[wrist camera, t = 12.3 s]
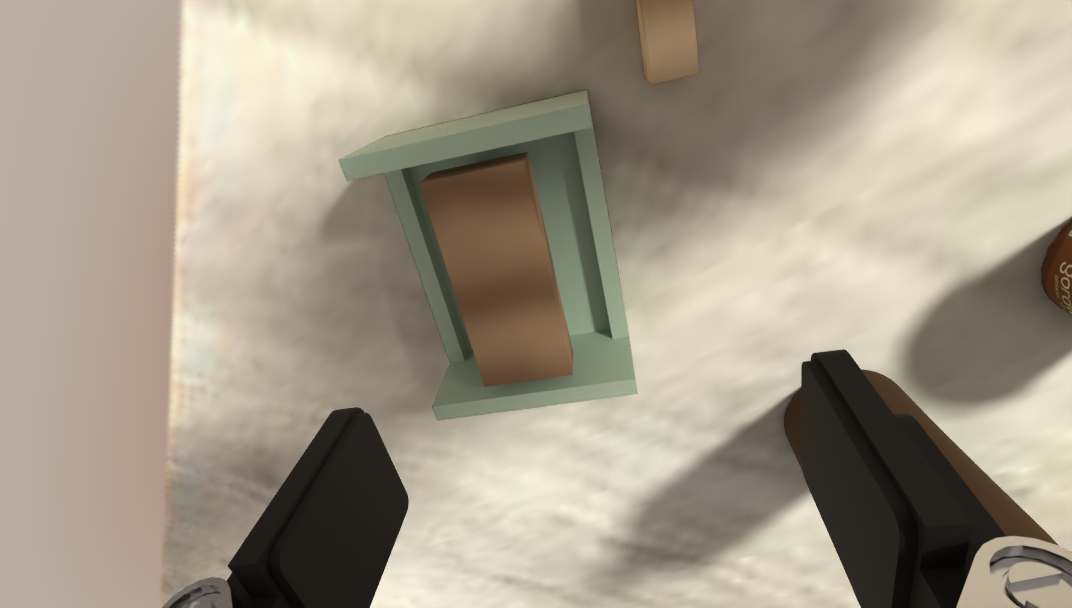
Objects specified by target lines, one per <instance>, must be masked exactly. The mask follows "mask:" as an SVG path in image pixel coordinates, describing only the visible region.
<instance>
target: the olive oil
mask: <svg viewBox="0 0 1072 608" xmlns="http://www.w3.org/2000/svg"><path fill="white" fill-rule="evenodd" d="M862 372H863V373H864V375H865V376H866V377H867V379H868V380H869V381H870V383H871V384H872V386H873V387H874V388H875V390H876V391H877V392H878V394H879V395H880V396H881V398H882V399H883V401H884V402H885V403H886V405H887V406H888V407H889V409H890V410H891V412H892V413H893V414H903V413H907V414H909V415H911V416H913V417H914V418H915V419H916V420H917V421H918V423H919V424H920V425H921V426H922V428H923V429H924V430H925V432H926V433H927V434H928V436H929V437H930V438H931V439H932V441H933V442H934V443H935V445H936V446H937V447H938V448H939V450H940V451H941V452H942V454H943V455H944V456H945V457H946V459H947V460H948V461H949V463H950V464H951V465H952V466H953V468H954V469H955V470H956V472H957V473H958V474H959V475H960V477H961V478H962V479H963V481H964V482H965V483H966V484H967V486H968V487H969V488H970V490H971V491H972V492H973V493H974V495H975V496H976V497H977V499H978V500H979V501H980V502H981V504H982V505H983V506H984V508H985V509H986V510H987V511H988V513H989V514H990V515H991V517H992V518H993V519H994V520H995V522H996V523H997V524H998V526H999V527H1000V528H1001V529H1002V531H1003V532H1004V533H1005V535H1006V536H1007V537H1008V536H1019V537H1028V538H1035V539H1038V540H1042V541H1045V542H1049V543H1052V544H1056V545H1058V544H1057V543H1056V542H1055V541H1054V540H1053V539H1052V538H1051V537H1050V536H1049V535H1048V534H1047V533H1046V532H1045V531H1044V530H1043V529H1042V528H1041V527H1040V526H1039V525H1038V524H1037V523H1036V522H1035V521H1034V520H1033V519H1032V518H1031V517H1030V516H1029V515H1028V514H1027V513H1026V512H1025V511H1024V510H1023V509H1022V508H1021V507H1020V506H1019V505H1017V504H1016V503H1015V502H1014V501H1013V500H1012V499H1011V498H1010V497H1009V496H1008V495H1007V494H1006V493H1005V492H1004V491H1003V490H1002V489H1001V488H1000V487H999V486H998V485H997V484H996V483H995V482H994V481H993V480H992V479H991V478H990V477H989V476H988V475H987V474H985V473H984V472H983V471H982V470H981V469H980V468H979V467H978V466H977V465H976V464H975V463H974V462H973V461H972V460H971V459H970V458H969V457H968V456H967V455H966V454H965V453H964V452H963V451H962V450H961V449H960V448H959V447H958V446H957V445H956V444H955V443H954V442H953V441H952V440H951V439H950V438H949V437H948V436H947V435H946V434H945V433H944V432H943V431H942V430H941V429H940V428H939V427H938V426H937V425H936V424H935V423H934V422H933V421H932V420H931V419H930V418H929V417H928V416H927V415H926V414H925V413H924V412H923V411H922V410H921V409H920V408H919V407H918V406H917V405H916V404H915V402H914V401H913V400H912V399H911V398H910V397H909V396H908V395H907V394H906V393H905V392H904V391H903V390H902V389H901V388H900V387H899V386H898V385H897V384H896V383H895V382H893V381H892V380H891V379H889V378H888V377H886V376H884V375H882V374H879V373H876V372H873V371H868V370H862ZM801 398H802V389H801V390H800V391H799V392H798V393H797V394H796V395H795V397H794V398H793V399H792V401H791V402H790V404H789V406H788V408H787V410H786V414H785V419H784V427H785V432H786V435H787V438H788V440H789V442H790V445H791V447H792V449H793V451H794V453H795V455H796V458H797V460H798V462H799V464H800V466H801V469H802V462H801ZM802 471H803V470H802ZM851 586H852V585H851ZM853 591H854V590H853ZM854 593H855V592H854ZM856 598H857V597H856ZM857 600H858V599H857ZM858 602H859V601H858Z"/></svg>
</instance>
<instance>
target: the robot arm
mask: <svg viewBox="0 0 1072 608" xmlns="http://www.w3.org/2000/svg"><path fill="white" fill-rule="evenodd" d="M801 462H802V470H803V474H804V477H805V480H806V483H807V485H808V487H809V490H810V492H811V494H812V496H813V499H814V501H815V503H816V506H817V508H818V510H819V512H820V515H821V517H822V519H823V522H824V524H825V526H826V528H827V531H828V533H829V535H830V538H831V540H832V542H833V544H834V547H835V549H836V551H837V553H838V556H839V558H840V560H841V563H842V565H843V567H844V569H845V572H846V574H847V576H848V579H849V581H850V583H851V585H852V588H853V590H854V592H855V595H856V597H857V599H858V601H859V604H860V606H861V608H1072V552H1070V551H1068V550H1066V549H1064V548H1062V547H1060V546H1058V545H1056V544H1052V543H1049V542H1045V541H1042V540H1038V539H1035V538H1028V537H1019V536H1008V537H1007V536H1006V535H1005V533H1004V532H1003V531H1002V529H1001V528H1000V527H999V526H998V524H997V523H996V522H995V520H994V519H993V518H992V517H991V515H990V514H989V513H988V511H987V510H986V509H985V508H984V506H983V505H982V504H981V502H980V501H979V500H978V499H977V497H976V496H975V495H974V493H973V492H972V491H971V490H970V488H969V487H968V486H967V484H966V483H965V482H964V481H963V479H962V478H961V477H960V475H959V474H958V473H957V472H956V470H955V469H954V468H953V466H952V465H951V464H950V463H949V461H948V460H947V459H946V457H945V456H944V455H943V454H942V452H941V451H940V450H939V448H938V447H937V446H936V445H935V443H934V442H933V441H932V439H931V438H930V437H929V436H928V434H927V433H926V432H925V430H924V429H923V428H922V426H921V425H920V424H919V423H918V421H917V420H916V419H915V418H914V417H913V416H911V415H909V414H907V413H903V414H893V413H892V412H891V410H890V409H889V407H888V406H887V405H886V403H885V402H884V401H883V399H882V398H881V396H880V395H879V394H878V392H877V391H876V390H875V388H874V387H873V386H872V384H871V383H870V381H869V380H868V379H867V377H866V376H865V375H864V373H863V372H862V370H861V369H860V368H859V366H858V365H857V364H856V362H855V361H854V360H853V358H852V357H851V355H850V354H849V353H848V352H847V351H846V350H835V351H827V352H819V353H813V354H812V356H811V361H806V362H803V363H802V398H801ZM407 510H408V495H407V492H406V490H405V488H404V486H403V484H402V482H401V480H400V477H399V475H398V473H397V471H396V469H395V467H394V465H393V462H392V460H391V458H390V456H389V454H388V452H387V450H386V447H385V445H384V443H383V441H382V439H381V437H380V435H379V432H378V430H377V428H376V426H375V424H374V422H373V420H372V418H371V416H370V415H369V414H368V413H364V411H363V410H362V409H361V408H348V409H340V410H335V411H333V412H332V413H331V414H330V415H329V417H328V418H327V420H326V421H325V423H324V424H323V426H322V427H321V429H320V430H319V432H318V433H317V434H316V436H315V437H314V439H313V440H312V442H311V443H310V445H309V446H308V448H307V449H306V451H305V452H304V454H303V455H302V457H301V458H300V460H299V461H298V463H297V464H296V466H295V467H294V468H293V470H292V471H291V473H290V474H289V476H288V477H287V479H286V480H285V482H284V483H283V485H282V486H281V488H280V489H279V491H278V492H277V494H276V495H275V497H274V498H273V500H272V501H271V502H270V504H269V505H268V507H267V508H266V510H265V511H264V513H263V514H262V516H261V517H260V519H259V520H258V522H257V523H256V525H255V526H254V528H253V529H252V531H251V532H250V533H249V535H248V536H247V538H246V539H245V541H244V542H243V544H242V545H241V547H240V548H239V550H238V551H237V553H236V554H235V556H234V557H233V559H232V560H231V562H230V563H229V565H228V567H229V568H230V570H231V571H232V574H231V575H230V577H229V578H228V580H227V581H225V580H224V579H222V578H215V577H211V578H207V579H203V580H200V581H198V582H196V583H193V584H191V585H189V586H187V587H186V588H184V589H183V590H182V591H180V592H179V593H177V594H176V595H175V596H173V597H172V598H171V599H170V600H169V601H168V602H167V603H166V604H165V605H164V606H163V607H162V608H370V605H371V603H372V600H373V597H374V595H375V592H376V590H377V587H378V585H379V582H380V579H381V577H382V574H383V572H384V569H385V567H386V564H387V562H388V559H389V556H390V554H391V551H392V549H393V546H394V544H395V541H396V538H397V536H398V533H399V531H400V528H401V526H402V523H403V520H404V518H405V515H406V513H407Z"/></svg>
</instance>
